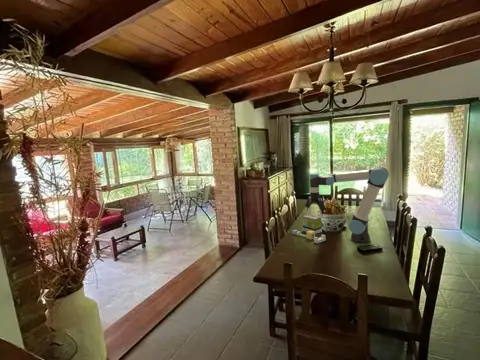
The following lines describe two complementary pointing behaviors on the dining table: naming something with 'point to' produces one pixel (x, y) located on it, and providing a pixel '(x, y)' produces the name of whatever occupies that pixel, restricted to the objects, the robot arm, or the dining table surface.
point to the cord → (306, 236)
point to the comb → (319, 239)
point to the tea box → (312, 223)
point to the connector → (294, 232)
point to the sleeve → (310, 234)
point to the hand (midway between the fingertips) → (315, 216)
